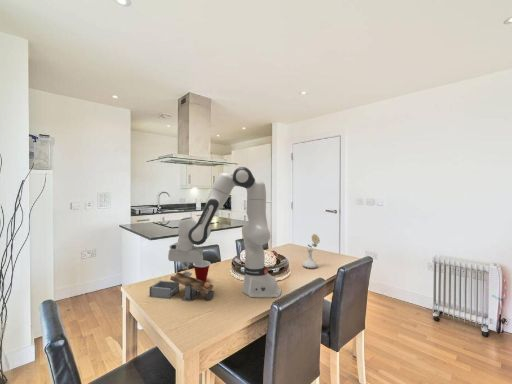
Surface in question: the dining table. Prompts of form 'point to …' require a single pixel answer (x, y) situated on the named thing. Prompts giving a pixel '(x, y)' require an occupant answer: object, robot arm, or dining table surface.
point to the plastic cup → (201, 270)
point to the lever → (191, 282)
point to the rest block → (210, 295)
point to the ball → (207, 285)
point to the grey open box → (164, 289)
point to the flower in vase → (310, 262)
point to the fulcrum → (190, 293)
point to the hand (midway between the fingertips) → (185, 269)
